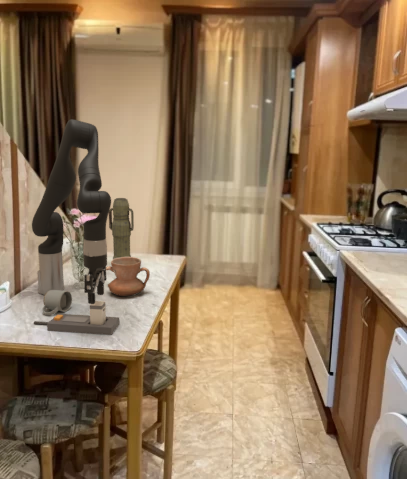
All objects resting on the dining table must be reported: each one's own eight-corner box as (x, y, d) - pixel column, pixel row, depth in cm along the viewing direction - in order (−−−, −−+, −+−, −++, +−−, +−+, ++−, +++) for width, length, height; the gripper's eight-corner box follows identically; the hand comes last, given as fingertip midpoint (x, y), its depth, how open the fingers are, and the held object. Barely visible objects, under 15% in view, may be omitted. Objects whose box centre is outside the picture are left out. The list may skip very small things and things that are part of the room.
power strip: (27, 329, 155) (26, 319, 155) (39, 318, 164) (39, 310, 163) (111, 334, 152) (111, 325, 151) (119, 324, 161) (119, 315, 160)
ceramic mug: (54, 304, 178) (53, 285, 176) (73, 307, 175) (72, 288, 174) (36, 315, 168) (35, 295, 166) (55, 318, 166) (54, 297, 164)
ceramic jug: (102, 298, 186) (101, 264, 183) (110, 287, 200) (109, 255, 197) (147, 299, 185) (146, 265, 182) (152, 288, 199) (151, 256, 196)
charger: (90, 330, 155) (89, 305, 153) (94, 325, 159) (93, 300, 157) (102, 331, 155) (101, 305, 153) (106, 326, 159) (105, 301, 157)
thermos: (112, 267, 230) (110, 197, 222) (135, 268, 229) (135, 197, 221) (107, 272, 221) (105, 199, 213) (132, 273, 220) (131, 200, 213)
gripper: (91, 246, 159) (92, 291, 162) (75, 256, 145) (77, 305, 148) (113, 247, 158) (113, 292, 161) (98, 258, 144) (99, 307, 148)
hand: (96, 299), depth 155 cm, fingers open, 8 cm apart
